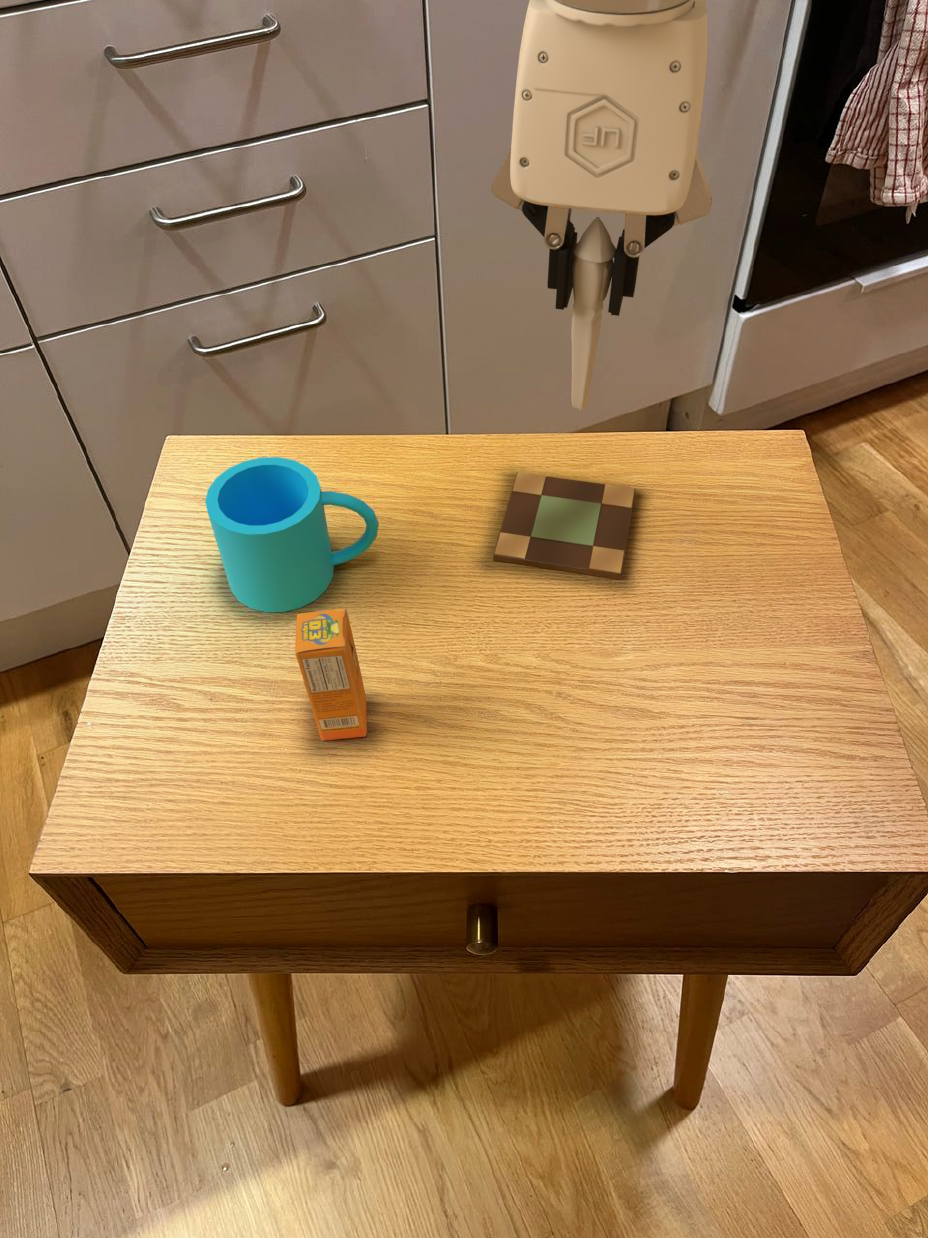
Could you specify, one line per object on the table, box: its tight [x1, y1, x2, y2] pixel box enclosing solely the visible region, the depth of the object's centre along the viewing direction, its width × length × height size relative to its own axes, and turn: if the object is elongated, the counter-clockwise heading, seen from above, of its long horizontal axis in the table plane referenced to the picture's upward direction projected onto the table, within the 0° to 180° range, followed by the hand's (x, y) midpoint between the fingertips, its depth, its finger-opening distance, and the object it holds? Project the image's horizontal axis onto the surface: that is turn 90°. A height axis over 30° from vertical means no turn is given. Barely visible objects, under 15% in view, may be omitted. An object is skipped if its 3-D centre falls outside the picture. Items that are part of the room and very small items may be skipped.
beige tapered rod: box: [570, 216, 617, 412], centre depth 63 cm, size 2×3×14 cm
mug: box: [204, 456, 380, 613], centre depth 72 cm, size 12×8×8 cm
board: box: [492, 471, 636, 580], centre depth 77 cm, size 10×10×1 cm
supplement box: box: [294, 607, 368, 742], centre depth 62 cm, size 3×3×10 cm
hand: (590, 298), depth 62 cm, fingers closed on beige tapered rod, 2 cm apart
